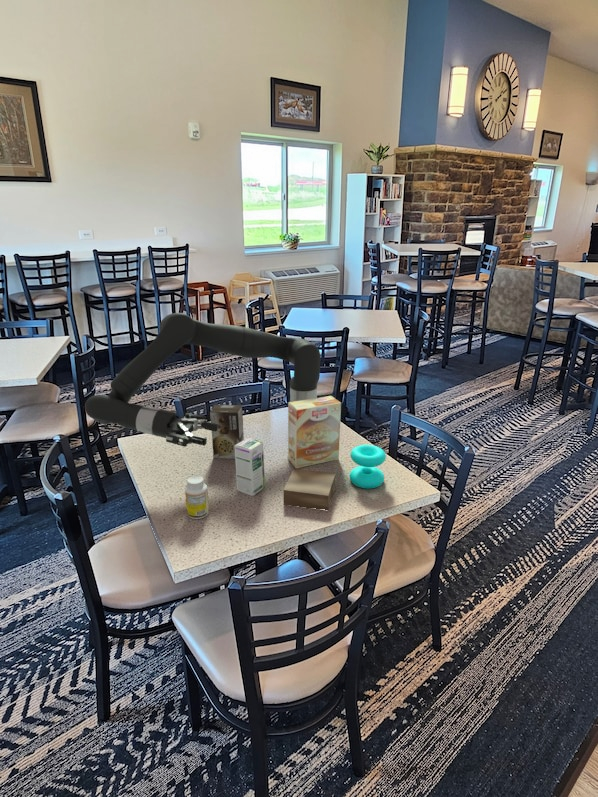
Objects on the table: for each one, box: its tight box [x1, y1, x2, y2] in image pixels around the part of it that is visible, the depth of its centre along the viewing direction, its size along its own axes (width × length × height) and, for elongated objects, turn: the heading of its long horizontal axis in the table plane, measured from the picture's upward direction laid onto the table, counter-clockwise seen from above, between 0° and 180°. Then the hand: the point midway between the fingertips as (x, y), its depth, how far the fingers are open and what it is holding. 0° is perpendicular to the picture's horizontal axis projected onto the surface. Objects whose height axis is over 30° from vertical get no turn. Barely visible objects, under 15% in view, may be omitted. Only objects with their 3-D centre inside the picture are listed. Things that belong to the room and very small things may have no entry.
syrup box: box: [234, 437, 266, 497], centre depth 137 cm, size 6×6×14 cm
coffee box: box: [209, 404, 245, 460], centre depth 156 cm, size 9×6×16 cm
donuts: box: [349, 444, 387, 490], centre depth 142 cm, size 10×10×10 cm
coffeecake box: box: [287, 395, 342, 469], centre depth 153 cm, size 15×7×20 cm, turn 114°
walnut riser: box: [283, 467, 337, 511], centre depth 136 cm, size 12×12×5 cm
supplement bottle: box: [184, 475, 210, 520], centre depth 127 cm, size 6×6×10 cm
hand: (212, 434), depth 136 cm, fingers open, 8 cm apart
